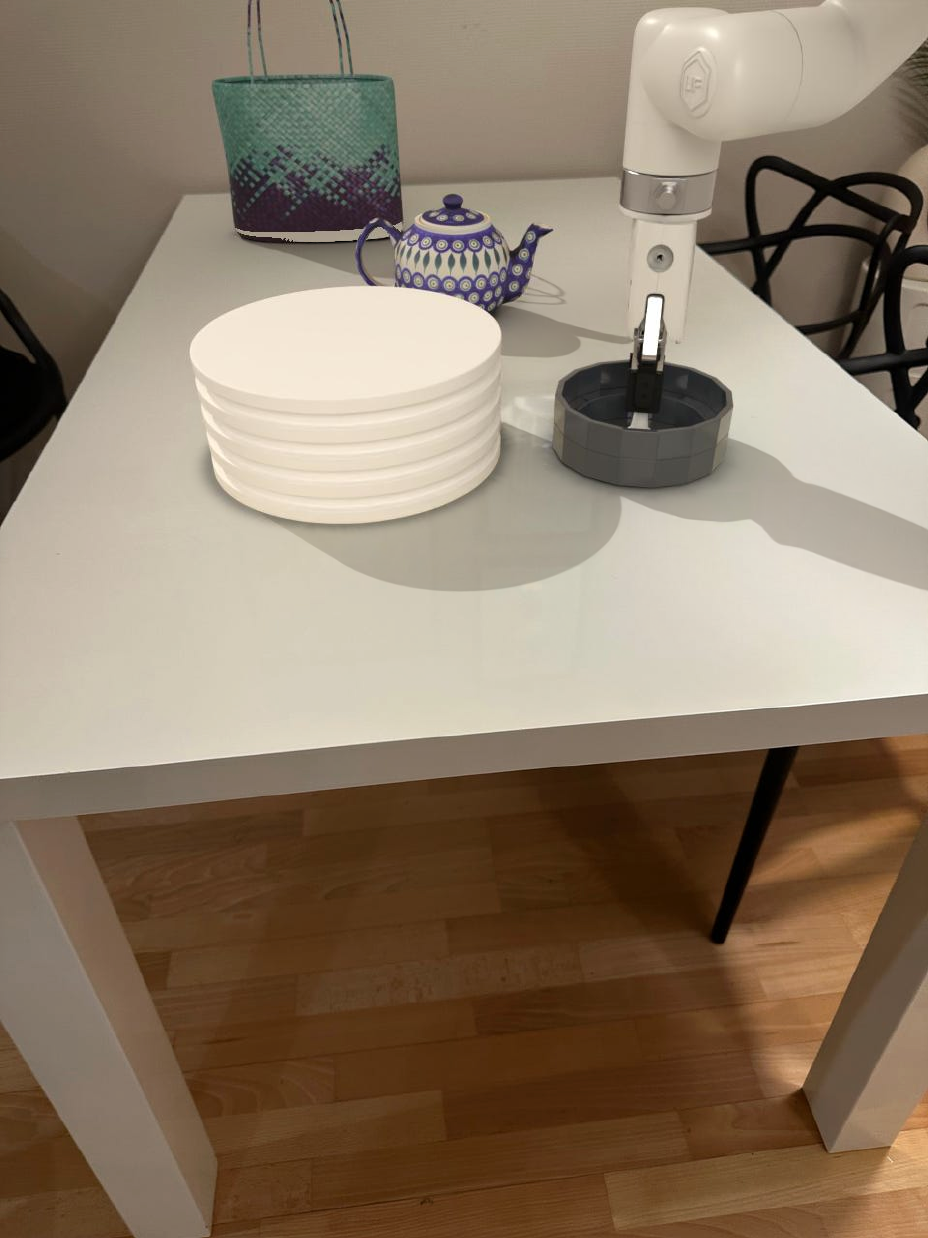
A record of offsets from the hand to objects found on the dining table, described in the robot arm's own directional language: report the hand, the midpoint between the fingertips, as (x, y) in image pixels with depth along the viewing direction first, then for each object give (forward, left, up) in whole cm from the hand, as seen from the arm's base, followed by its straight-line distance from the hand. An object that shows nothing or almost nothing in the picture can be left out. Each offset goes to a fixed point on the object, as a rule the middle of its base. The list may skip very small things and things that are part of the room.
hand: (642, 401), depth 84 cm
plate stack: (+27, +4, -5) cm, 28 cm away
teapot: (+25, -35, -5) cm, 43 cm away
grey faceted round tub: (0, 0, -5) cm, 5 cm away
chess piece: (0, 0, -5) cm, 5 cm away
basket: (+55, -70, -5) cm, 89 cm away
